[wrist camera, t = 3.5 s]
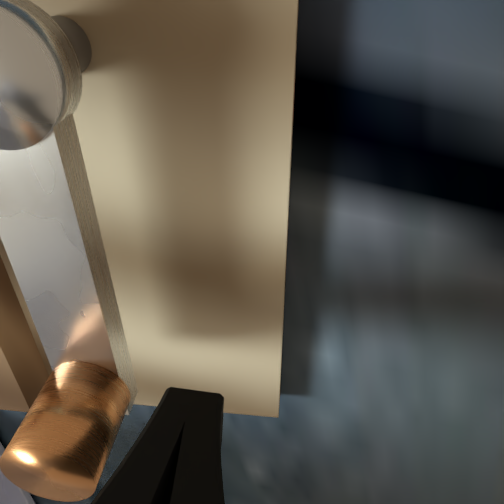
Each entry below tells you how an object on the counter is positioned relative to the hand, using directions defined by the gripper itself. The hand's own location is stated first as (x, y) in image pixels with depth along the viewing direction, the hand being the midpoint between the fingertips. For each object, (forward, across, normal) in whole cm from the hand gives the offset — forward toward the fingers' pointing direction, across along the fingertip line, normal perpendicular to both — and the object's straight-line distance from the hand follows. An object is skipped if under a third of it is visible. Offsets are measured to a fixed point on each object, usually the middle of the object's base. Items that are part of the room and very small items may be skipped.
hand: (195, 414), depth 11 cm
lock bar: (+2, +3, -4) cm, 5 cm away
